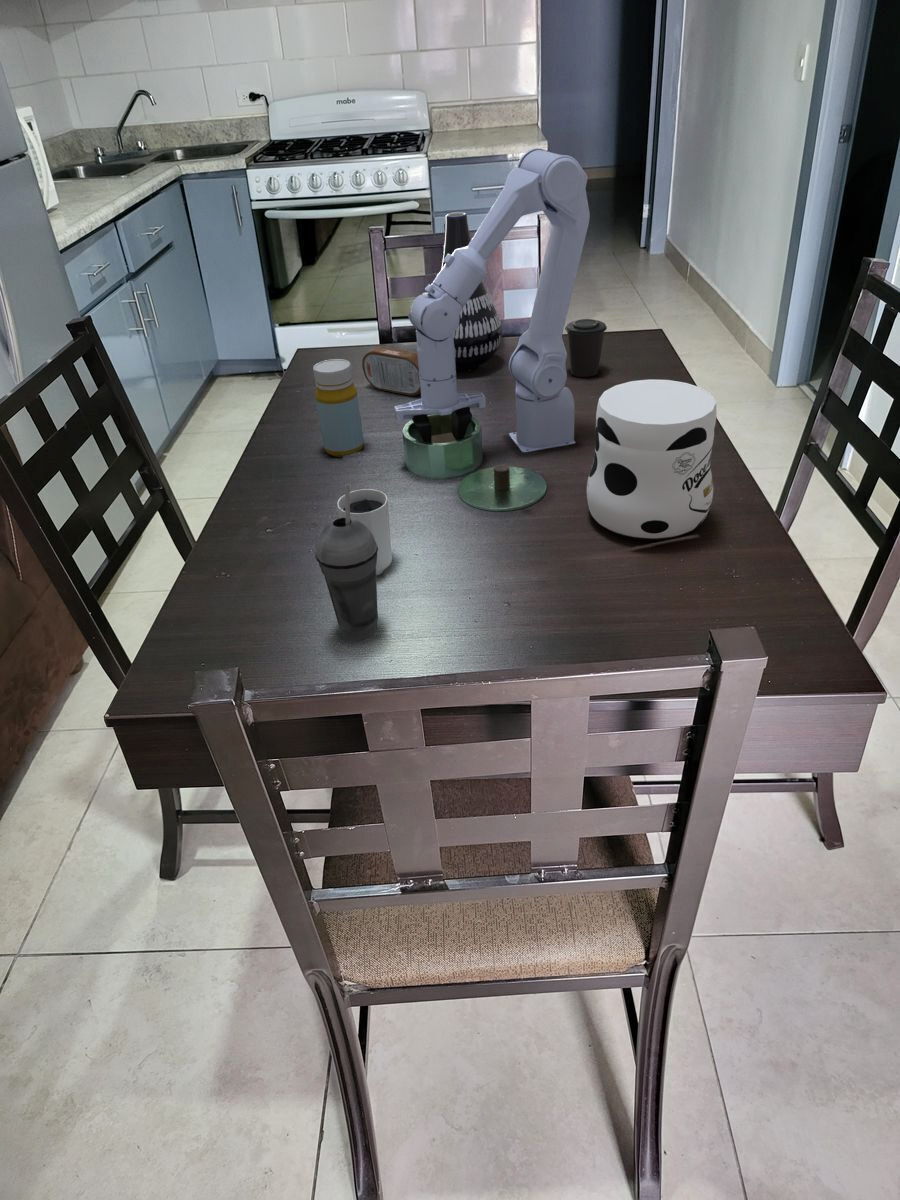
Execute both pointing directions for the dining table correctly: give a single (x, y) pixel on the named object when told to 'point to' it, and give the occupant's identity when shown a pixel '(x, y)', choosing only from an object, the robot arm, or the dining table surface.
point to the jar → (442, 450)
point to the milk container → (652, 459)
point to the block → (443, 438)
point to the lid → (502, 488)
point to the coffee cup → (585, 346)
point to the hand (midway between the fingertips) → (443, 454)
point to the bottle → (338, 407)
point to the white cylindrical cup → (372, 520)
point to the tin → (392, 370)
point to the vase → (472, 308)
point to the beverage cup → (350, 573)
